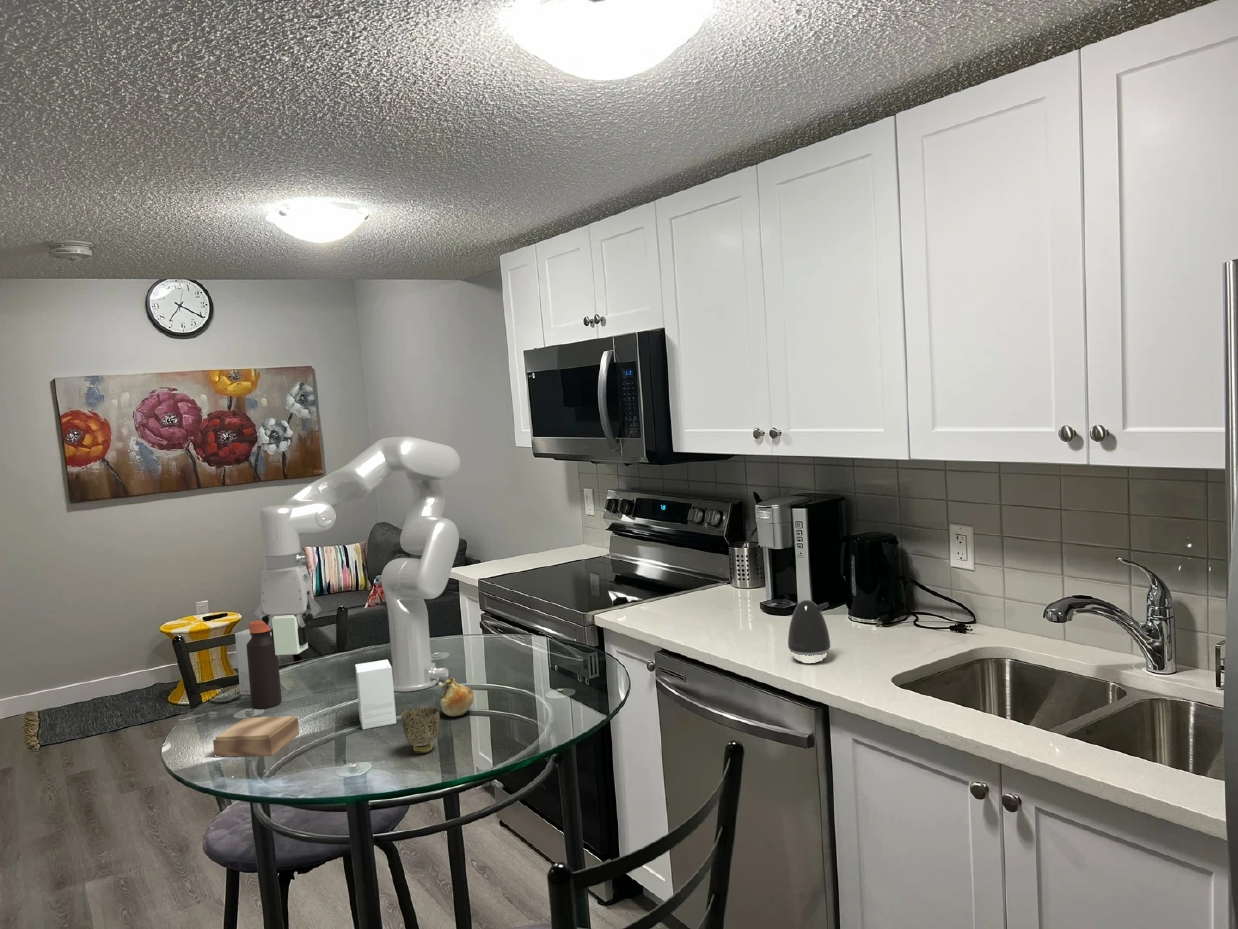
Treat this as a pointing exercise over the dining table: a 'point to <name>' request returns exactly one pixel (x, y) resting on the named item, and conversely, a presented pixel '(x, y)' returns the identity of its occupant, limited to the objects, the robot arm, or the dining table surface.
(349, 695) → the dining table surface
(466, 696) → the onion
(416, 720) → the cup
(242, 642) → the skincare box
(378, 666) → the supplement box
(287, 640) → the sage block
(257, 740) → the base block
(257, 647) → the bottle
